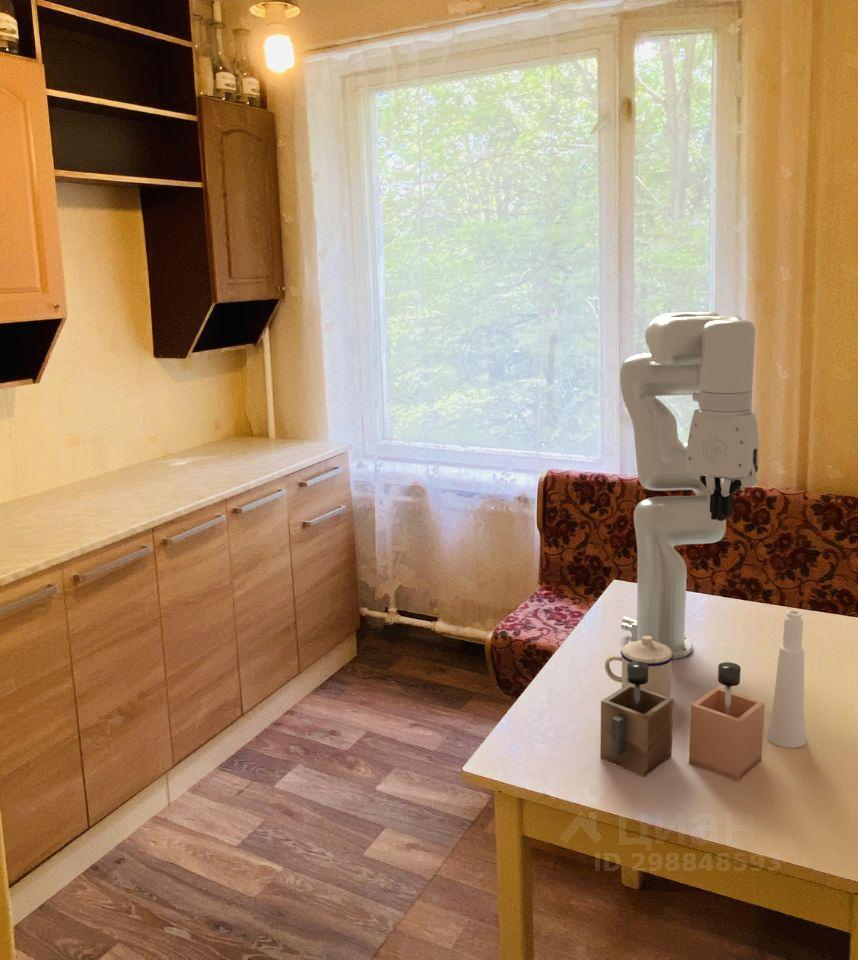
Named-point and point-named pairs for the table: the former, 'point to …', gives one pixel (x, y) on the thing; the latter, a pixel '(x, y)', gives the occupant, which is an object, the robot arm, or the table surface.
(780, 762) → the table surface
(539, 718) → the table surface
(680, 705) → the table surface
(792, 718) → the cosmetic bottle
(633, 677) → the dark metallic plunger
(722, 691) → the square planter pot
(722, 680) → the black knobbed plunger
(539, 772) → the table surface
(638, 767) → the wooden handled box
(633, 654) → the teacup with lid
